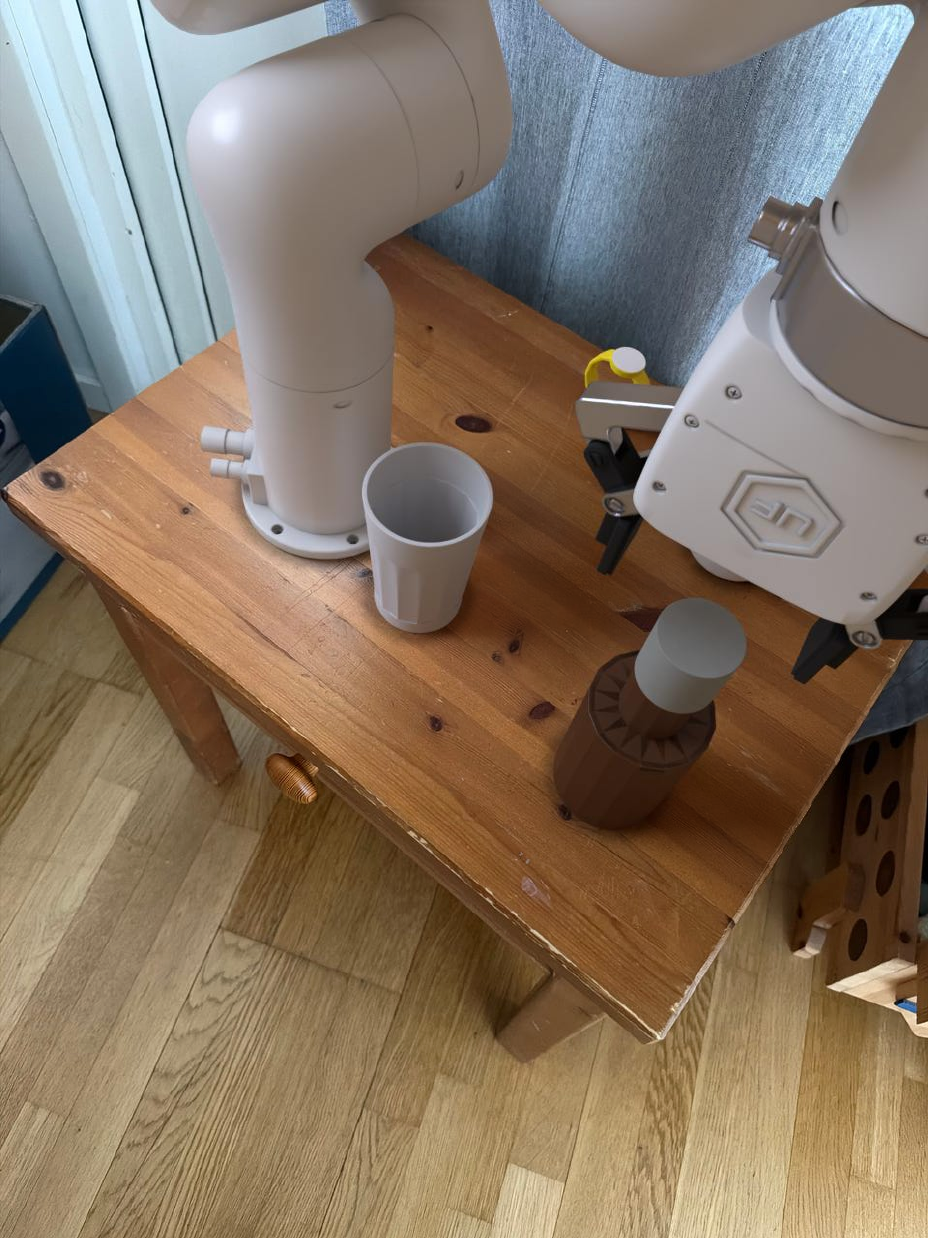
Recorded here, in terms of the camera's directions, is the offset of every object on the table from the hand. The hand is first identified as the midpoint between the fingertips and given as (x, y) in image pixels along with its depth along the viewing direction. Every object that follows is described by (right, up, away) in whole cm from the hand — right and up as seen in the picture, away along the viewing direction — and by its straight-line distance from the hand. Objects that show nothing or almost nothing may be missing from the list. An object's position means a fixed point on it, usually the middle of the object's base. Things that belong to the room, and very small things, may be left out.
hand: (709, 603), depth 41 cm
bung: (0, -4, +7) cm, 8 cm away
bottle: (-2, -11, +19) cm, 22 cm away
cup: (-14, +1, +24) cm, 28 cm away
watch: (+1, +17, +35) cm, 39 cm away
